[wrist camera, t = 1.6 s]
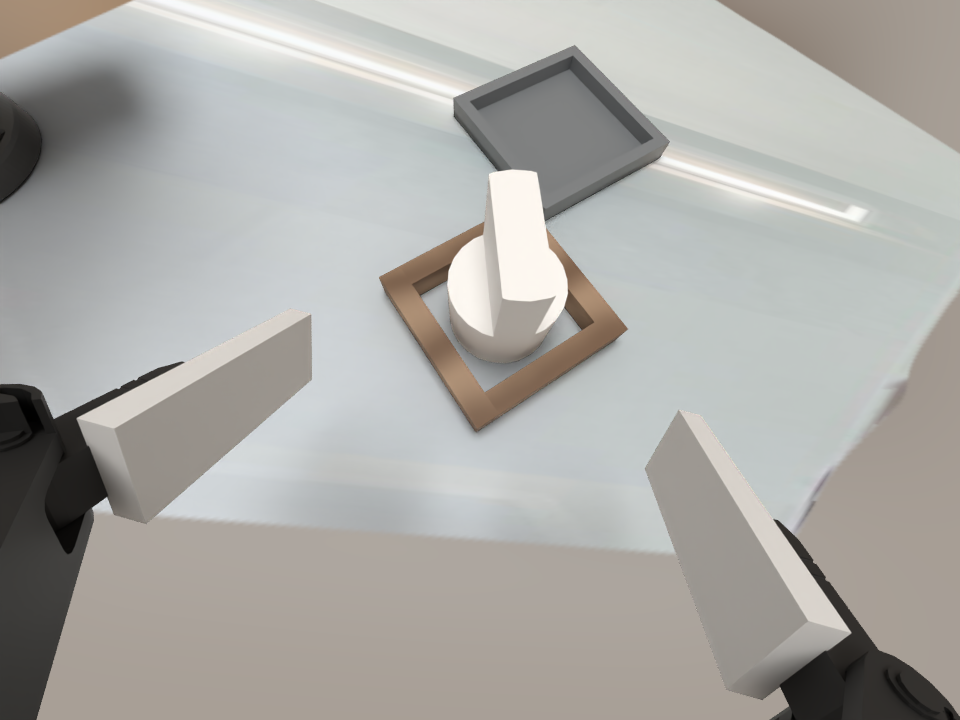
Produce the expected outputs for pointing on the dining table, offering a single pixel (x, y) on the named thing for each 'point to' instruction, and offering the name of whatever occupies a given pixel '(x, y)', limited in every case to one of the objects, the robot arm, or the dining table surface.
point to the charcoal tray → (560, 128)
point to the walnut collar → (474, 403)
